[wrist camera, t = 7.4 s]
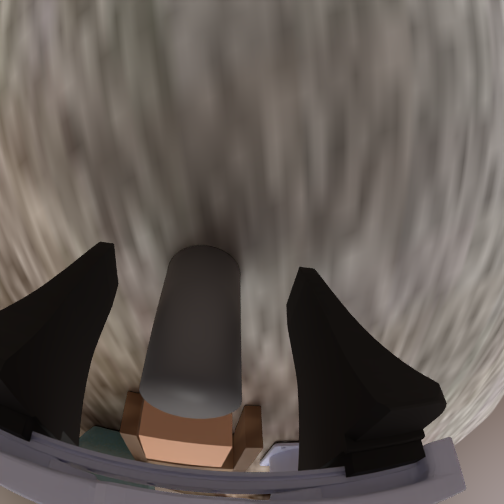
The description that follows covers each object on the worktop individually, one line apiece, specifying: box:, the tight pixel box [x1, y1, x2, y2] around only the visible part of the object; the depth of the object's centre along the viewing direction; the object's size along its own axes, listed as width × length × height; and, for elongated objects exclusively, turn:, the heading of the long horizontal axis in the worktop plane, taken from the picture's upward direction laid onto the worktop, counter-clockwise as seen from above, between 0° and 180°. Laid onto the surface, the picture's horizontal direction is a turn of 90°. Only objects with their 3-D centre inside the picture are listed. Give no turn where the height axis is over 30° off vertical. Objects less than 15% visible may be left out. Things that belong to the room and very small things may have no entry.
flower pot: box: [79, 426, 155, 490], centre depth 23 cm, size 9×9×9 cm
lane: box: [120, 391, 263, 472], centre depth 21 cm, size 10×8×4 cm
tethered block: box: [139, 246, 242, 467], centre depth 14 cm, size 5×14×6 cm, turn 168°
